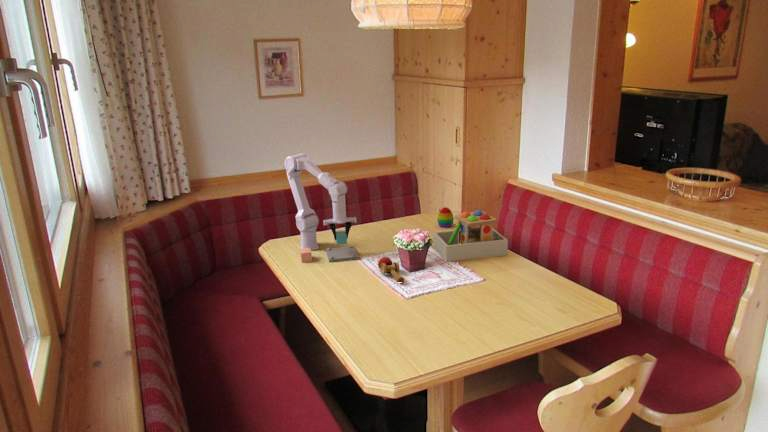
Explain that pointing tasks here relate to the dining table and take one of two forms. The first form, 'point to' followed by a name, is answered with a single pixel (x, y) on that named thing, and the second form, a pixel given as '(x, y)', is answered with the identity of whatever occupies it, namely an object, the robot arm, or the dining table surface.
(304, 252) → the terracotta brick
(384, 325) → the dining table surface
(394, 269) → the kendama
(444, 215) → the decorative egg
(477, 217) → the pounding bench toy
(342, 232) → the teal brick
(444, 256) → the toy tray
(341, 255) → the baseplate
